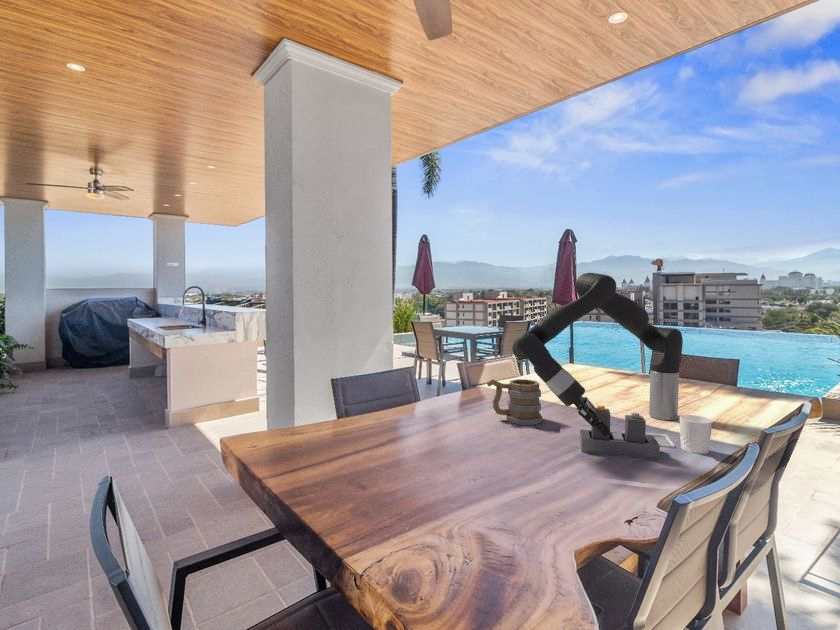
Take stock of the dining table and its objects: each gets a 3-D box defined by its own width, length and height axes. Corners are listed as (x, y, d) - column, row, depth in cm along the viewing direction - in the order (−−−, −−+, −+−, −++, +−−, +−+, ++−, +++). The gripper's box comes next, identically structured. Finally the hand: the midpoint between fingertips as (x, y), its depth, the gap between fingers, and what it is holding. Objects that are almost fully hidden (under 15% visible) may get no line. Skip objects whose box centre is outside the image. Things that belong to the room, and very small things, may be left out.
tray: (631, 436, 137) (631, 431, 137) (666, 439, 134) (666, 434, 134) (637, 447, 127) (637, 442, 127) (674, 451, 125) (675, 445, 124)
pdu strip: (579, 445, 130) (579, 428, 129) (652, 452, 124) (653, 434, 123) (581, 455, 122) (581, 437, 122) (659, 463, 116) (659, 444, 116)
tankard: (538, 414, 161) (538, 376, 160) (544, 425, 149) (545, 383, 148) (485, 413, 163) (485, 375, 162) (487, 424, 151) (487, 382, 150)
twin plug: (624, 448, 124) (625, 410, 123) (641, 450, 123) (642, 412, 122) (627, 454, 120) (628, 415, 119) (644, 455, 119) (645, 416, 118)
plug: (591, 440, 127) (592, 403, 126) (607, 442, 125) (608, 404, 125) (592, 445, 122) (593, 407, 122) (609, 447, 121) (610, 408, 120)
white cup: (695, 459, 119) (697, 424, 118) (672, 449, 126) (673, 416, 126) (717, 456, 121) (718, 421, 120) (693, 446, 128) (694, 413, 128)
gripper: (573, 383, 119) (619, 430, 115) (575, 374, 132) (616, 416, 128) (553, 400, 121) (598, 447, 118) (557, 389, 135) (597, 431, 131)
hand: (607, 430), depth 123 cm, fingers closed on plug, 4 cm apart
